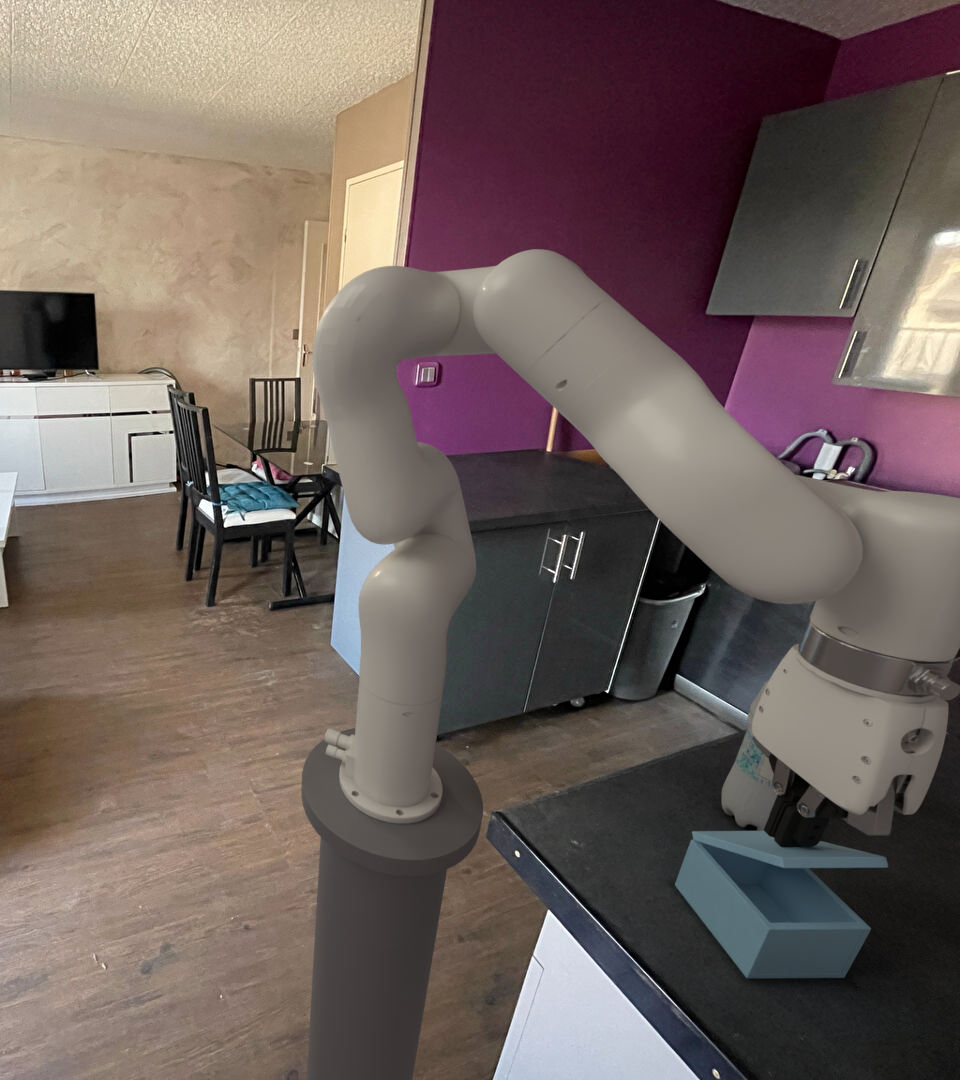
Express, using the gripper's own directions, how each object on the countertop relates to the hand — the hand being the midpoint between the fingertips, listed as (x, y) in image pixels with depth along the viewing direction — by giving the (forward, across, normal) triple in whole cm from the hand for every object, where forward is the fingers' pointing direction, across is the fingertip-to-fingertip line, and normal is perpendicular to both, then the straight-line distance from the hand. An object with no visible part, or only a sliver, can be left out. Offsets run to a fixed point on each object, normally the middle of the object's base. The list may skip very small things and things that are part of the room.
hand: (788, 839), depth 50 cm
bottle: (+11, +12, -10) cm, 19 cm away
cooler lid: (+2, 0, 0) cm, 2 cm away
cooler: (+11, 0, 0) cm, 11 cm away
